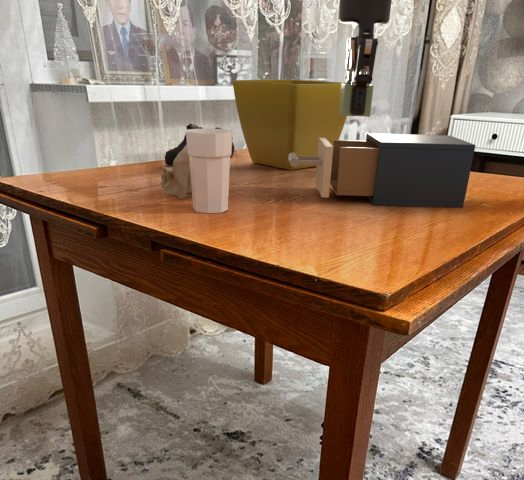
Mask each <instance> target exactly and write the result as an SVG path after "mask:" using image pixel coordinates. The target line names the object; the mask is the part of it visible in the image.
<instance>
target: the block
mask: <svg viewBox="0 0 524 480" xmlns="http://www.w3.org/2000/svg"><path fill="white" fill-rule="evenodd" d="M365 89H367V94H366V103H365V112H364V114H363V115H352V114H351V113H350V104H351V94H352V85H351V84H341V92H340V104H339V114H340V115H342V116H347V117H367V118H368V117H371V111H372V102H373V94H374V85H373V84H370V85H369V87H368V88H365Z"/></svg>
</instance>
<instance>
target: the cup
mask: <svg viewBox="0 0 524 480" xmlns="http://www.w3.org/2000/svg"><path fill="white" fill-rule="evenodd" d="M185 134H186V140H187V152H188V155H189V163H190V174H191V186H192V193H191V195H192V196H191V197H192V210H194V211H195V212H196V213H202V214H221V213H224V212H226V211H228V210H229V193H230V191H229V190H230V172H231V171H230V169H231V159H230V156H231V153H232V142H233V141H232V137H233V130H230V129H224V128H221V129H215V128H203V129H188V130H187V129H186V130H185Z"/></svg>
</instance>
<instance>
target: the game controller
mask: <svg viewBox="0 0 524 480" xmlns="http://www.w3.org/2000/svg"><path fill="white" fill-rule="evenodd" d="M188 129H204V127H202V126H199V125H197V124H195V123H189V124H188V125H186V130H188ZM214 129H222V128H221V127H218V126H217V127H215V128H214ZM233 140H234V138H233V136H232V153H231V156H230V160H232V158H233V156H234V154H235V150H236V149H235V144H234V142H233ZM186 144H187V140H186V133H185V134H184V137H183V140H182V141H181V142H180V143H179V144H178V145H177V146H176V147H173V148H171V149H169V150H167V151H166V152H165V155H164V162H165V164H166V165H167V166H168V167H173V161H174V159H175V158H176V157H177V155H178V153H179V152H181V151H182V150H183V148H184V147H185V145H186Z"/></svg>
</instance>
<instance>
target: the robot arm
mask: <svg viewBox="0 0 524 480" xmlns="http://www.w3.org/2000/svg"><path fill="white" fill-rule="evenodd" d="M392 1H393V0H339V7H338V22H339V23H341V24H343V25H351V26H352V30H351V35H350V36H351V37H347V39H346V45H345V47H346V59H345V75H344V81H345V82H344V83H346V84H351V85H352V94H351V104H350V113H351V114H352V115H363V114H364V112H365V103H366V94H367V89H365V88H368V87H369V85H372V81H373V73H374V68H375V61H376V56H377V48H378V45H379V40H378V38H377V37H376V38H375V26H378V25H379V26H382V25H387V24H388V23H389V22H390V19H391V9H392Z"/></svg>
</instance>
